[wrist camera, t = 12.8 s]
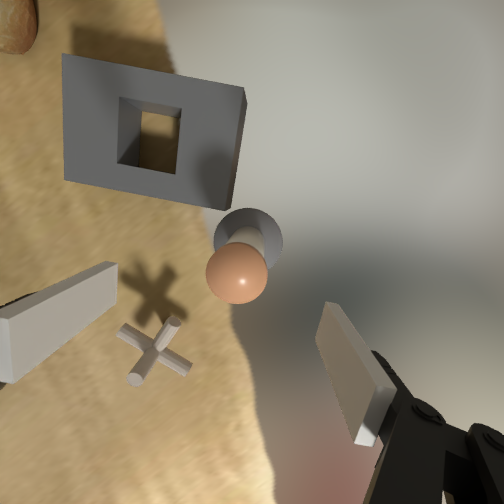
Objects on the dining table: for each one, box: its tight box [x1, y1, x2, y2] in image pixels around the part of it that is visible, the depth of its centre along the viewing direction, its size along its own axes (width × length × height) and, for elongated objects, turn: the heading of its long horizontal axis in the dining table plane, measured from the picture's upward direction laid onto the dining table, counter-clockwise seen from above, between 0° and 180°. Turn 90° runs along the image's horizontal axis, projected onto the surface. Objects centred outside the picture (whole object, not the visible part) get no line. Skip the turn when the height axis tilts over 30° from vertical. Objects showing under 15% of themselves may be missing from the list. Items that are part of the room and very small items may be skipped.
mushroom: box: [206, 226, 267, 304], centre depth 25 cm, size 5×5×12 cm
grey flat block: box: [62, 53, 247, 211], centre depth 27 cm, size 18×12×4 cm, turn 79°
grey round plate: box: [214, 208, 283, 270], centre depth 31 cm, size 9×9×1 cm
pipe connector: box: [116, 316, 193, 387], centre depth 30 cm, size 10×10×10 cm
